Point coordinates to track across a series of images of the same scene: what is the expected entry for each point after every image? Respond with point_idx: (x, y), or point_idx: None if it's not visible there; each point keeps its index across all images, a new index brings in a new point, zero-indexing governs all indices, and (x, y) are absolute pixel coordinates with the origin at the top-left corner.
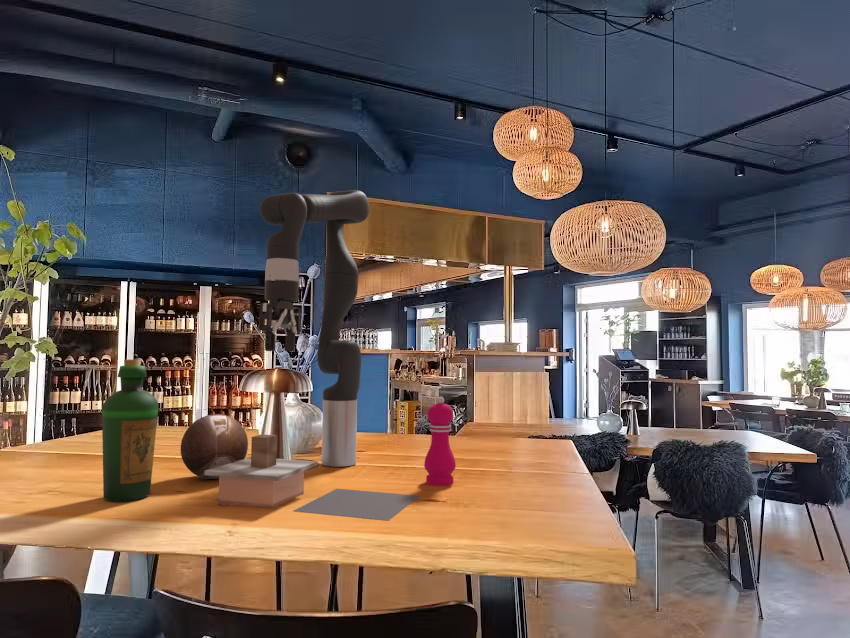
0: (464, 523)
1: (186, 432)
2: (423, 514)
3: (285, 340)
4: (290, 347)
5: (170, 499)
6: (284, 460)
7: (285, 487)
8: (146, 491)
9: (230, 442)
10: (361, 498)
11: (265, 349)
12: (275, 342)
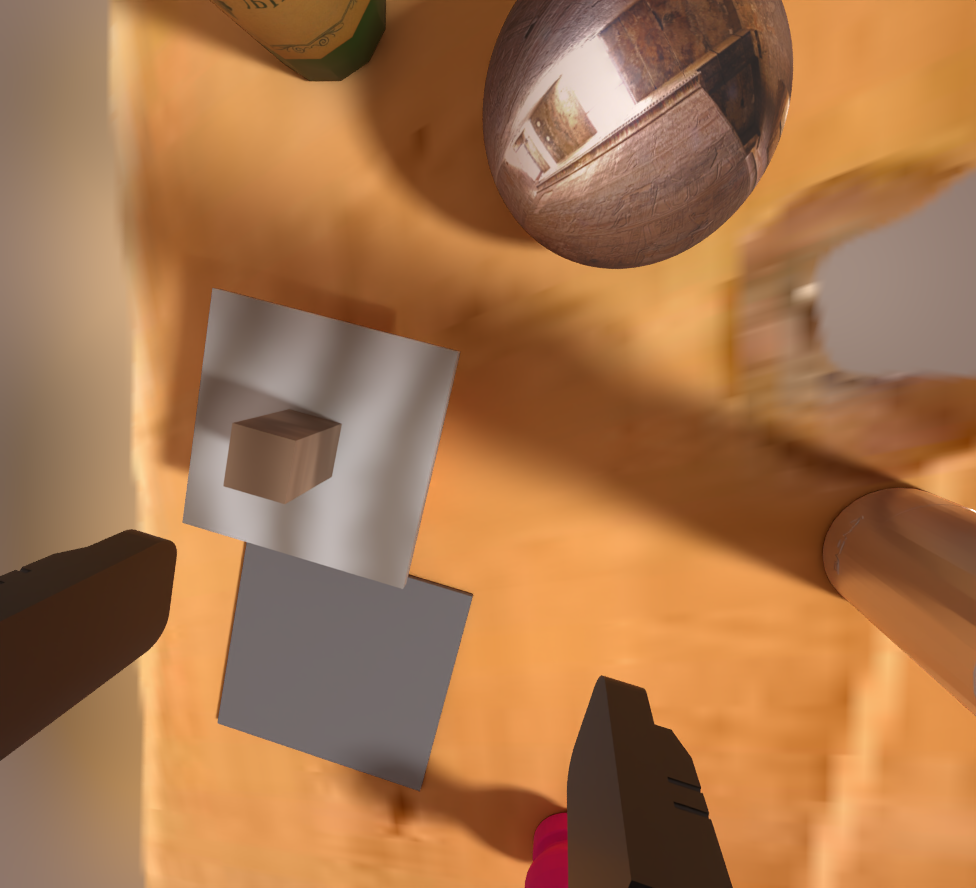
0: (242, 845)
1: None
2: (288, 783)
3: (615, 787)
4: (579, 772)
5: (325, 166)
6: (406, 483)
7: None
8: (316, 75)
9: (531, 225)
10: (376, 664)
11: (129, 536)
12: (73, 704)
